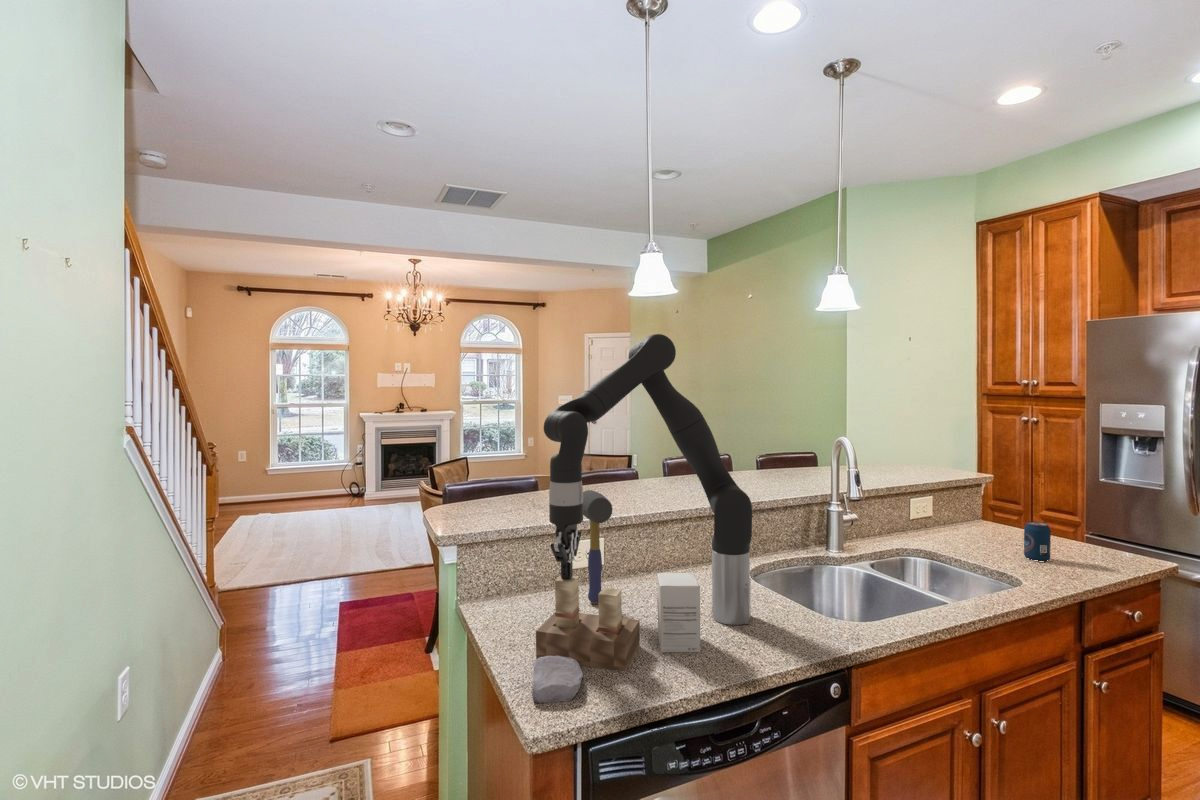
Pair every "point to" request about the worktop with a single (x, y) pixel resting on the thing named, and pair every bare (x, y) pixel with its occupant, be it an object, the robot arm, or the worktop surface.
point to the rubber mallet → (595, 537)
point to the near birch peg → (610, 611)
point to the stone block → (555, 679)
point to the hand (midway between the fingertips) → (566, 578)
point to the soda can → (1037, 541)
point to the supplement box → (678, 612)
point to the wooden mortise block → (590, 642)
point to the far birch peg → (567, 602)
